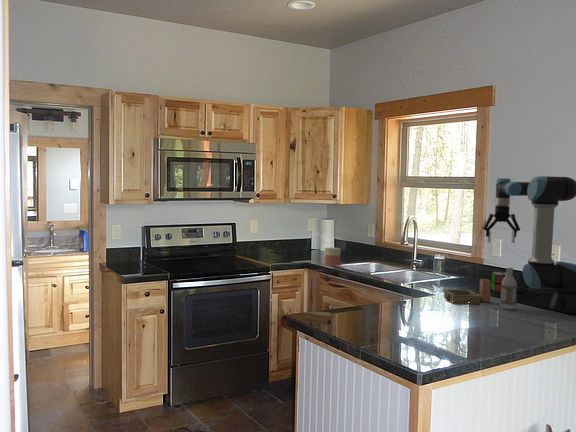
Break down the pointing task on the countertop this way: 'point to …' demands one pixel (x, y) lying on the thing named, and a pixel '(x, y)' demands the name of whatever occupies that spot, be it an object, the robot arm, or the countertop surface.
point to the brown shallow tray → (462, 296)
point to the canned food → (332, 256)
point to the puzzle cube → (497, 281)
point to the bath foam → (508, 290)
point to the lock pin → (481, 290)
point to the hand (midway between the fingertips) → (500, 242)
